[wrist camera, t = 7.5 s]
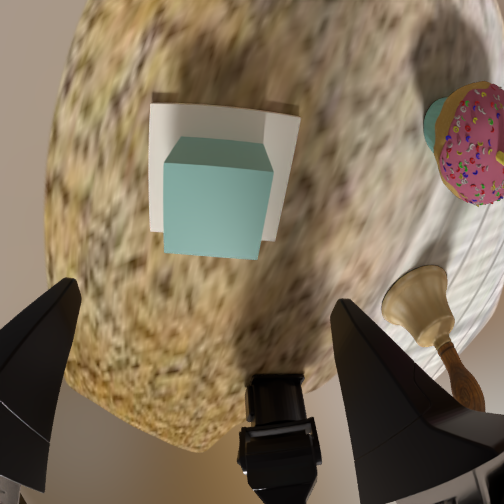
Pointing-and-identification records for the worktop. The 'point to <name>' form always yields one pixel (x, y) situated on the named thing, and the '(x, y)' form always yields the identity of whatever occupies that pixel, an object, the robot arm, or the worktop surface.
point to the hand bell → (432, 326)
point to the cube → (215, 197)
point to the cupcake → (469, 141)
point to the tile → (228, 128)
